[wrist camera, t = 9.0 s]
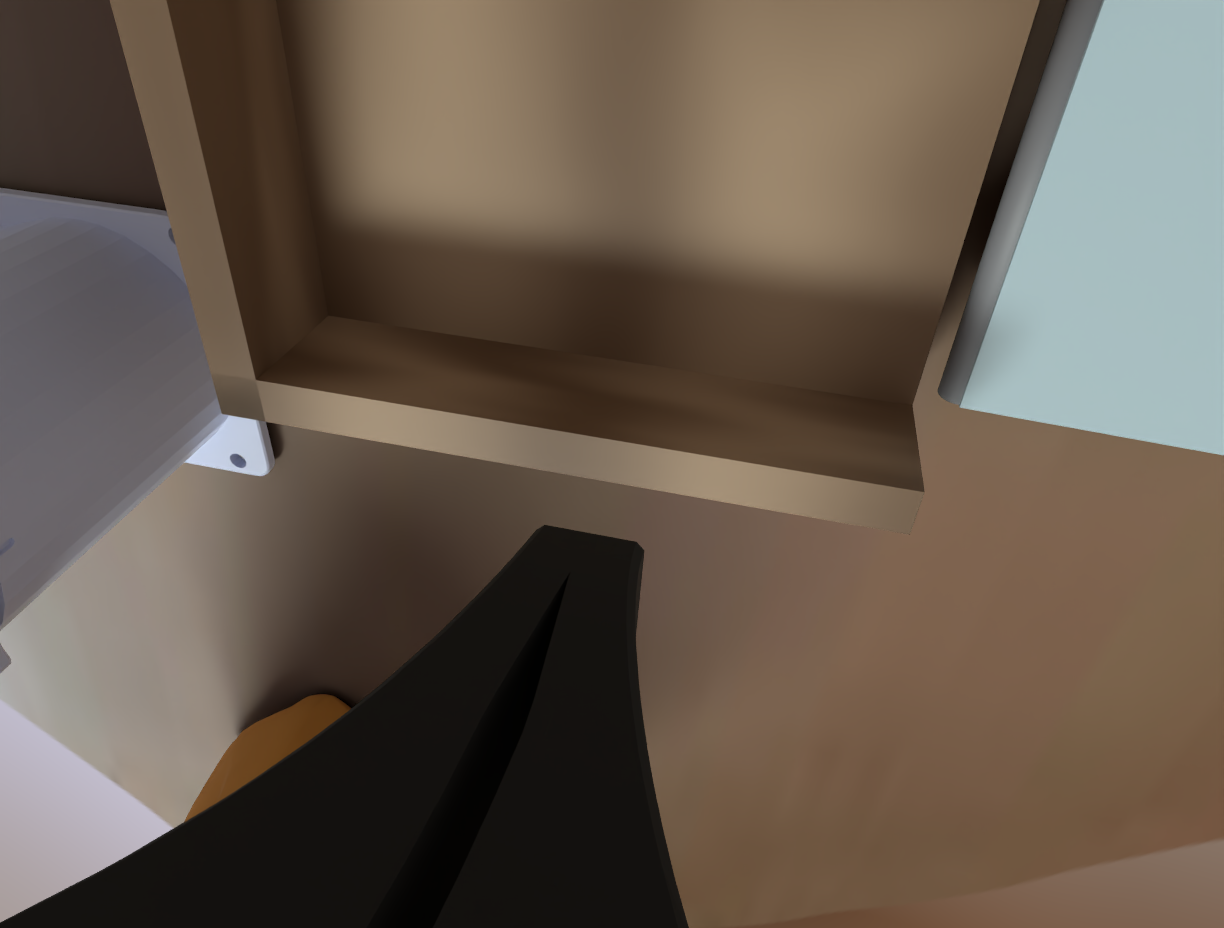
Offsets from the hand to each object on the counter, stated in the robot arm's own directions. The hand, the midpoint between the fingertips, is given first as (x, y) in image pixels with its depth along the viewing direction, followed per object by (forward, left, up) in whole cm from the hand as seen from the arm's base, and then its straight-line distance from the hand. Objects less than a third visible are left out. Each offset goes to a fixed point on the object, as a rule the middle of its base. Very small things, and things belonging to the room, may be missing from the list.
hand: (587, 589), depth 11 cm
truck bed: (-2, +4, -10) cm, 11 cm away
